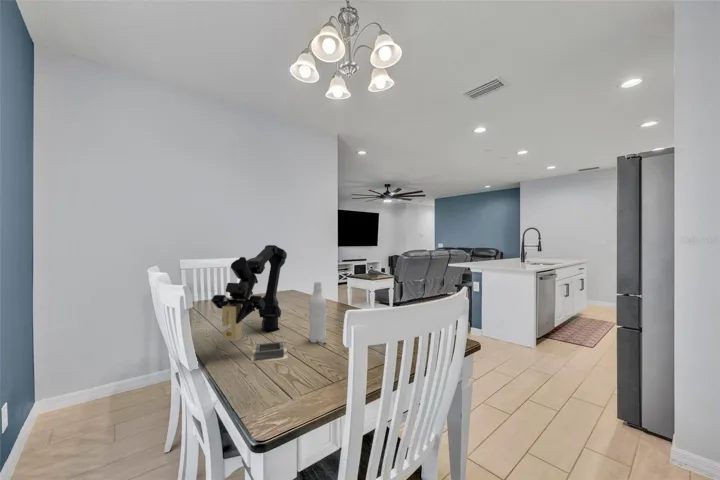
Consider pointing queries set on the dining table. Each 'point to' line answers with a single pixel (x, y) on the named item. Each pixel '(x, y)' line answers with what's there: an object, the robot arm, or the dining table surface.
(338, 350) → the dining table surface
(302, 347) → the dining table surface
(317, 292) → the water bottle
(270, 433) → the dining table surface
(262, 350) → the grey square tray
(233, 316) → the brass link
